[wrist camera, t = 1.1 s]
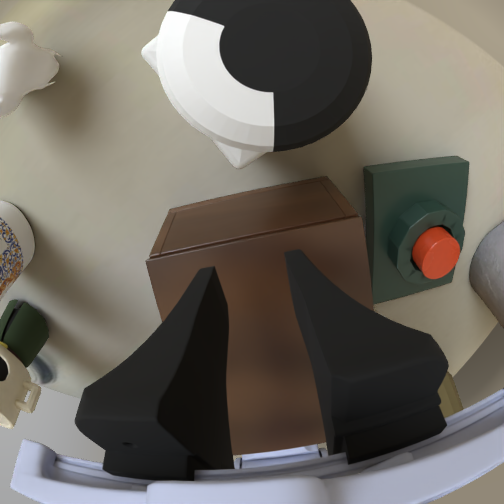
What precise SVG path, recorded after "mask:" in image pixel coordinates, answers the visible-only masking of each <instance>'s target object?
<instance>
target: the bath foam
mask: <svg viewBox="0 0 504 504" xmlns="http://www.w3.org/2000/svg"><path fill="white" fill-rule="evenodd" d="M34 250H35V242H34V236H33V232H32V229H31V227H30V225H29V223H28V221H27V220H26V218H25V217H24V215H23V214H22V212H21V211H20V210H19V209H18V208H17V207H15V206H14V205H12V204H11V203H8V202H5V201H0V300H1V299H2V298H3V296H4V295H5V294H6V292H7V291H8V290H9V288H10V287H11V286H12V284H13V283H14V282H15V280H16V279H17V278H18V277H19V275H20V274H21V272H22V271H23V270H24V269H25V268H26V266H27V265H28V264H29V263H30V261H31V259H32V257H33V255H34Z"/></svg>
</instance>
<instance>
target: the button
mask: <svg viewBox="0 0 504 504" xmlns="http://www.w3.org/2000/svg"><path fill="white" fill-rule="evenodd" d="M459 255H460V246H459V244H458V242H457V241H456V240H455V239H454V238H453V237H452V236H451V235H450V234H449V233H448V232H447V231H446V230H445V229H444V228H441V227H432V228H429V229H427V230H426V231H425V232H423V233H422V234H421V235H420V236H419V237H418V239H417V240H416V242H415V244H414V247H413V251H412V257H413V260H414V262H415V264H416V265H417V266H418V268H419V269H420V270H421V271H422V273H423V274H424V275H425V276H426V277H427V278H429V279H438V278H441V277H443V276H445V275H446V274H447V273H449V272H450V271H451V270H452V269H453V267H454V266H455V264H456V263H457V261H458V258H459Z"/></svg>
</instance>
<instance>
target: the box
mask: <svg viewBox="0 0 504 504" xmlns="http://www.w3.org/2000/svg"><path fill="white" fill-rule="evenodd" d="M357 216H358V213H357V212H356V211H355V210H354V208H353V207H352V206H351V205H350V203H349V202H348V201H347V200H346V198H345V197H344V196H343V195H342V194H341V192H340V191H339V190H338V189H337V188H336V186H335V185H334V184H333V183H332V182H331V181H330V180H329V178H328V177H327V176H326V177H320V178H314V179H308V180H303V181H297V182H292V183H287V184H281V185H276V186H271V187H266V188H261V189H256V190H251V191H247V192H242V193H237V194H233V195H228V196H224V197H219V198H215V199H210V200H206V201H202V202H197V203H193V204H189V205H185V206H181V207H177V208H173V209H170V210H169V212H168V214H167V217H166V219H165V221H164V223H163V225H162V228H161V230H160V232H159V234H158V237H157V239H156V241H155V244H154V246H153V248H152V250H151V253H150V255H149V256H150V258H154V257H159V256H163V255H168V254H173V253H177V252H182V251H187V250H191V249H196V248H201V247H206V246H211V245H215V244H220V243H225V242H230V241H235V240H240V239H245V238H250V237H254V236H259V235H264V234H269V233H274V232H279V231H284V230H289V229H294V228H300V227H305V226H310V225H315V224H320V223H325V222H330V221H336V220H341V219H346V218H351V217H357Z"/></svg>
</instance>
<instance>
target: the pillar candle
mask: <svg viewBox="0 0 504 504" xmlns="http://www.w3.org/2000/svg"><path fill="white" fill-rule="evenodd" d="M469 276H470V282H471V286H472V287H473V289H474V291H475V292H476V293H477V294H478V295H479V296H480V298H481V299H482V300H483V302H484V303H485V304H486V305H487V307H488V308H489V309H490V310H491V312H492V313H493V315H494V316H495V317H496V319H497V320H498V322H499V323H500V324H501V326H502V327H503V328H504V221H503V222H502V223H501V224H499V225H498V226H497V227H496V228H494V229H493V230H492V231H491V232H490V233H488V234H487V235H486V236H485V238H484V239H483V240H482V242H481V243H480V245H479V247H478V248H477V250H476V253H475V255H474V257H473V259H472V263H471V266H470V275H469Z"/></svg>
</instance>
